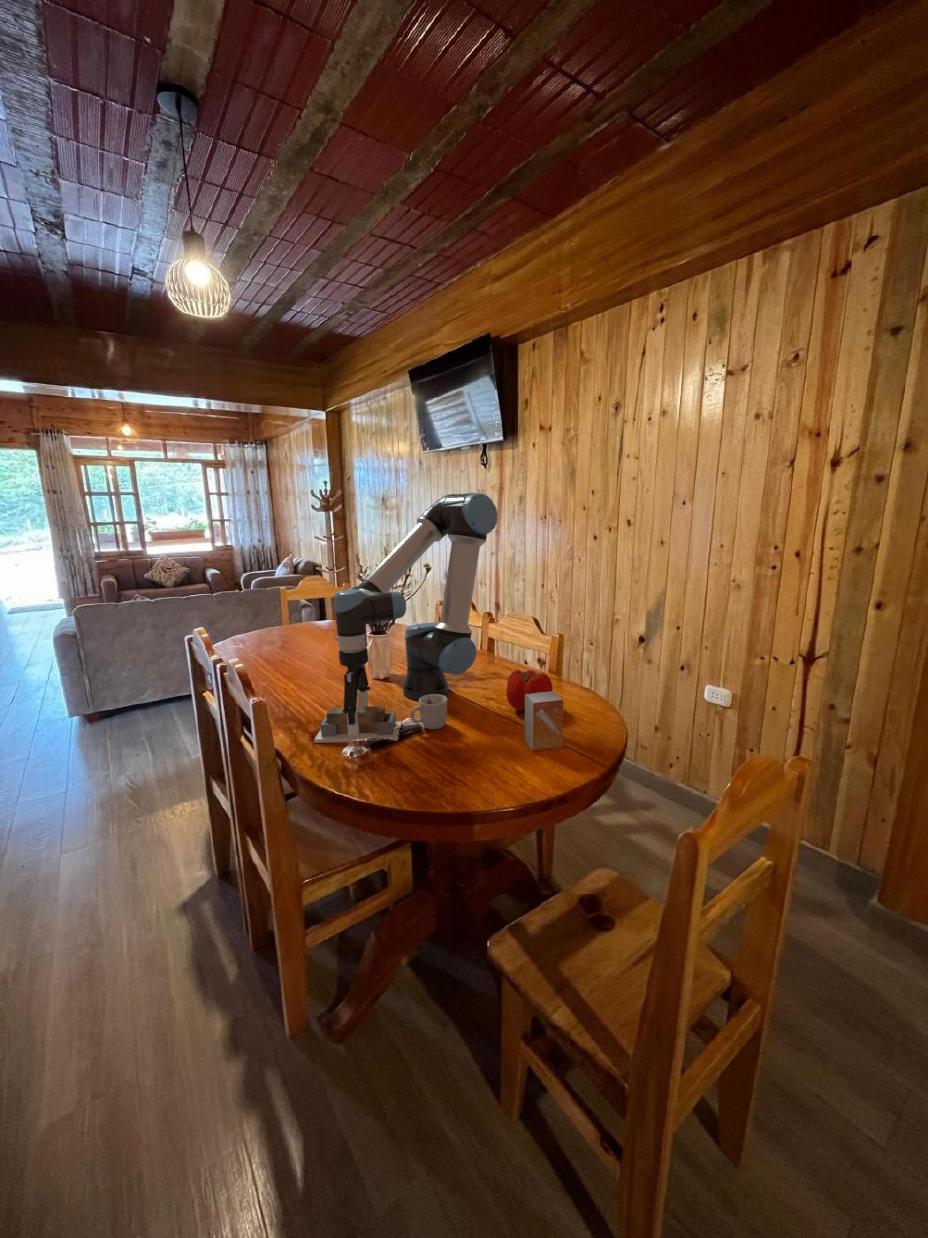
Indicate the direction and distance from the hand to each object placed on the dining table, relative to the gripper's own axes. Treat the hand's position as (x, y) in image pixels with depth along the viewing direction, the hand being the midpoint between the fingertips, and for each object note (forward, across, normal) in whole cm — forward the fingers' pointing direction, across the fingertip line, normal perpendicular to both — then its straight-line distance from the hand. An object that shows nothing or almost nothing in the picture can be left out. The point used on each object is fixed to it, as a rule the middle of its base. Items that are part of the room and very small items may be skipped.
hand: (359, 723), depth 137 cm
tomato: (+3, -14, +48) cm, 50 cm away
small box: (+3, +9, +49) cm, 50 cm away
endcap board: (+3, 0, 0) cm, 3 cm away
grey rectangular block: (+2, 0, 0) cm, 2 cm away
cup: (+3, -3, +19) cm, 19 cm away
